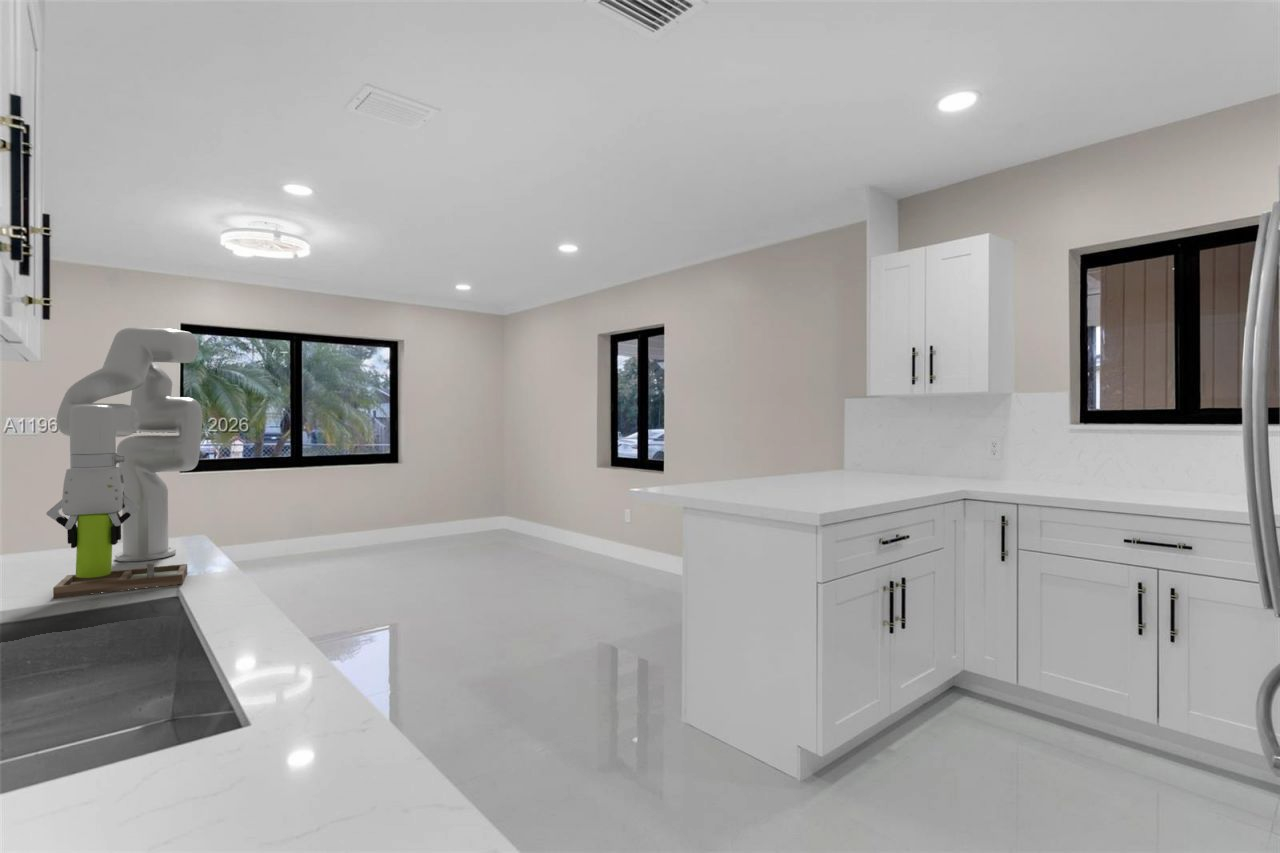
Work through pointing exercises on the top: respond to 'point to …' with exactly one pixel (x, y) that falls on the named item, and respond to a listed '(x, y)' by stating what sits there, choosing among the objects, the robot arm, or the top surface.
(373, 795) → the top surface
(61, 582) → the wooden divided tray
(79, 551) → the soap dispenser
